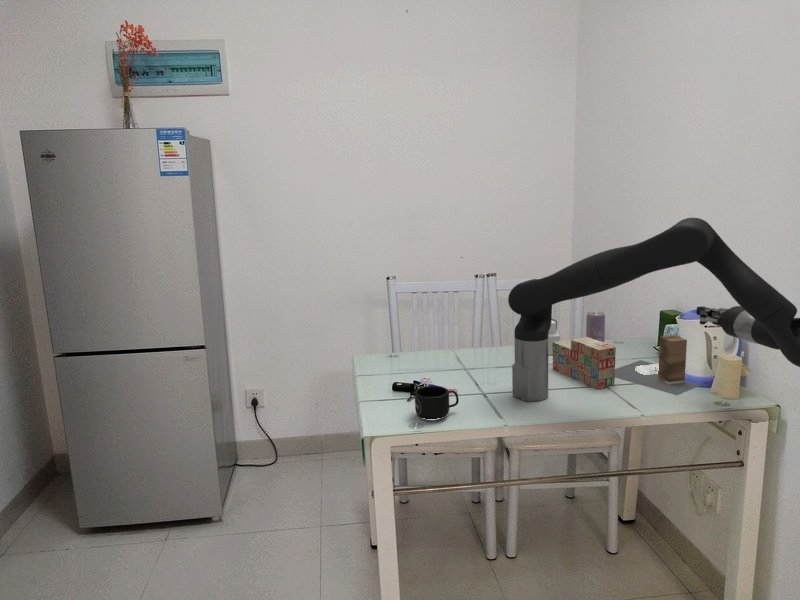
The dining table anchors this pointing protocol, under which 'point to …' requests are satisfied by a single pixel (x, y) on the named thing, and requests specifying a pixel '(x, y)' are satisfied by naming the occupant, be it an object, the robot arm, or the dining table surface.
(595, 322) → the beverage can
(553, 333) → the medicine bottle
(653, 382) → the mat
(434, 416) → the mug
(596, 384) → the stack of blocks
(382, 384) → the dining table surface
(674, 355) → the wooden block
